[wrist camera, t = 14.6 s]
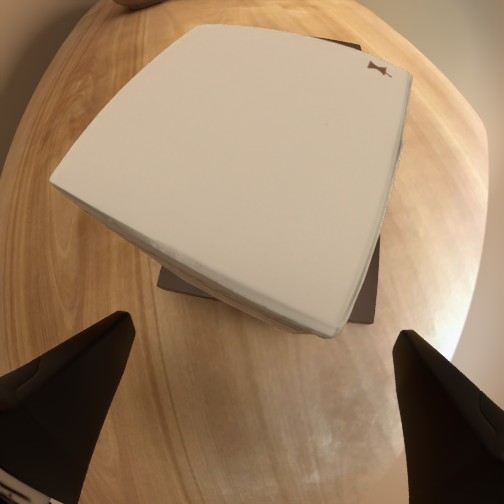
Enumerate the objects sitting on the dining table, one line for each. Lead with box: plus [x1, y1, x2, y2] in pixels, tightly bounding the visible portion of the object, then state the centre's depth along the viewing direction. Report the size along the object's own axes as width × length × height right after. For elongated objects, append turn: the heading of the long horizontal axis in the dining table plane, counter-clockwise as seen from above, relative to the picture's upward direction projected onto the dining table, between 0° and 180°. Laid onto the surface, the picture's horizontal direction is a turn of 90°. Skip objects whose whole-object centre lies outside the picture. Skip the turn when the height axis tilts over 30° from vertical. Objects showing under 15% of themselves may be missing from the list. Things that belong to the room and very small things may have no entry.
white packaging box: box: [49, 24, 412, 339], centre depth 11 cm, size 7×7×13 cm
